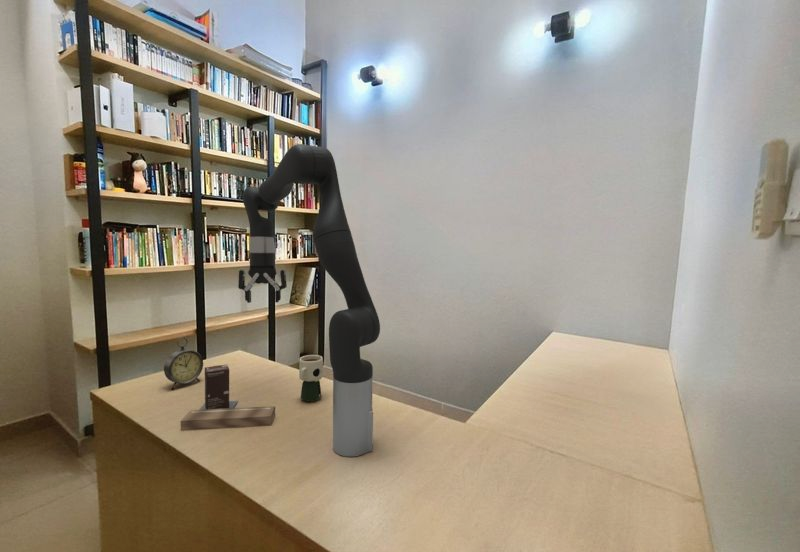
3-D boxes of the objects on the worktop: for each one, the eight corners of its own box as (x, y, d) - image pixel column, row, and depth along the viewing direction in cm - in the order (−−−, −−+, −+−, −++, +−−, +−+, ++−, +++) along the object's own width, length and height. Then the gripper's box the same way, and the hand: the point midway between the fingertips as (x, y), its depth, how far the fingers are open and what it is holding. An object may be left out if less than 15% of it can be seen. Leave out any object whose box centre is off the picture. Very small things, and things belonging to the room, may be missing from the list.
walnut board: (275, 414, 100) (275, 405, 100) (271, 425, 95) (270, 415, 94) (190, 419, 97) (190, 409, 97) (180, 430, 91) (180, 420, 91)
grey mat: (237, 402, 108) (237, 400, 108) (228, 416, 99) (228, 414, 99) (205, 403, 106) (205, 402, 106) (193, 418, 98) (193, 416, 97)
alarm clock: (170, 392, 114) (169, 342, 113) (162, 388, 117) (160, 339, 116) (204, 381, 123) (203, 335, 122) (195, 378, 126) (194, 333, 125)
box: (206, 414, 99) (205, 371, 98) (204, 408, 102) (203, 367, 102) (230, 409, 102) (229, 368, 101) (228, 403, 106) (227, 363, 105)
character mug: (312, 408, 105) (312, 364, 104) (290, 404, 107) (290, 362, 106) (329, 393, 115) (330, 354, 114) (310, 390, 117) (310, 352, 116)
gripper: (234, 251, 109) (236, 304, 110) (283, 251, 111) (284, 303, 112) (242, 251, 116) (243, 301, 117) (287, 251, 118) (288, 300, 119)
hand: (263, 302), depth 115 cm, fingers open, 8 cm apart
